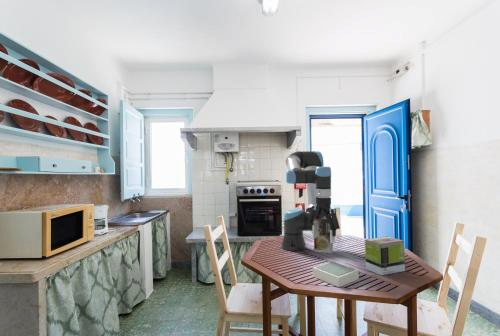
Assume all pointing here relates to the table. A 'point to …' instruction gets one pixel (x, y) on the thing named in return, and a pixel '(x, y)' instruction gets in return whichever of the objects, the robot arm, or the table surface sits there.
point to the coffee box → (322, 236)
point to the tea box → (385, 255)
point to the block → (335, 273)
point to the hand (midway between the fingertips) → (323, 240)
